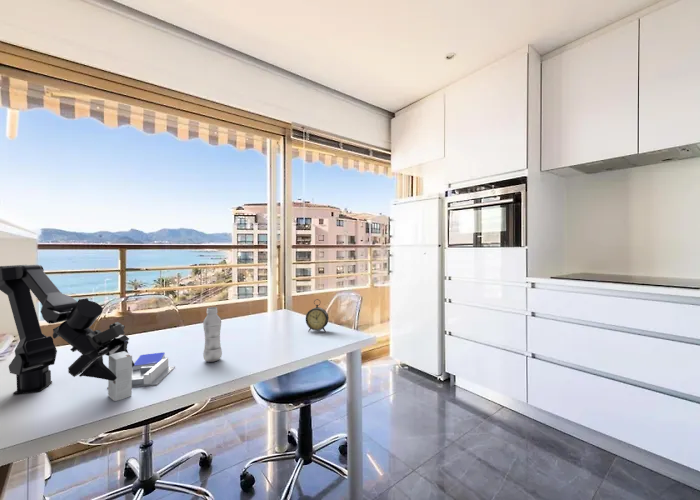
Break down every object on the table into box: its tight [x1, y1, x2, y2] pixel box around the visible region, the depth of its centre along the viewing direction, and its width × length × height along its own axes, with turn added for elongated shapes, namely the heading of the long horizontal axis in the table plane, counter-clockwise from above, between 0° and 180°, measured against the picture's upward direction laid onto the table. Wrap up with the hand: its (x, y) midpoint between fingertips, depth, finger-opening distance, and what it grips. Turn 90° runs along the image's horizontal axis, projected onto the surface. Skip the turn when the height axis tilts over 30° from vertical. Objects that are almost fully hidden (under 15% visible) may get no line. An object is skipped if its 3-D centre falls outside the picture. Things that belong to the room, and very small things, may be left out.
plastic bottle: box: [202, 306, 223, 363], centre depth 116 cm, size 6×7×20 cm
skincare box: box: [107, 351, 133, 402], centre depth 90 cm, size 6×4×12 cm
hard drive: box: [132, 352, 166, 370], centre depth 114 cm, size 2×8×12 cm
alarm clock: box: [305, 298, 329, 333], centre depth 154 cm, size 11×5×16 cm, turn 81°
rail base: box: [107, 357, 176, 390], centre depth 102 cm, size 14×14×4 cm
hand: (124, 372), depth 90 cm, fingers open, 9 cm apart
